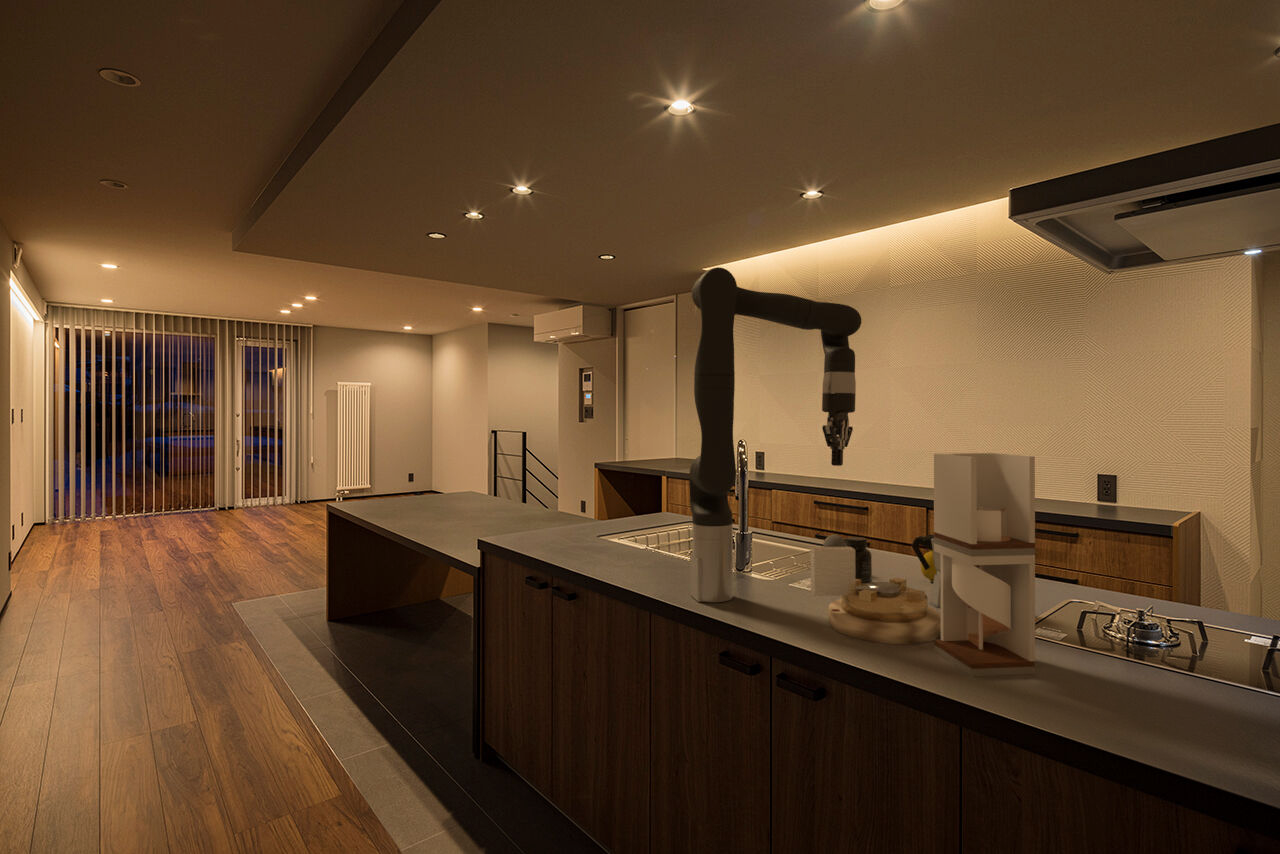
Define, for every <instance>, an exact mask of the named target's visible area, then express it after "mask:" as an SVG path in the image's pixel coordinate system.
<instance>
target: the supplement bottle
mask: <svg viewBox="0 0 1280 854" xmlns="http://www.w3.org/2000/svg"><path fill="white" fill-rule="evenodd" d="M867 541H868V539H867V538H865V537H861V536H860V537H859V536H848V537H846V539H845V542H846V547H852V548H853V549H855V579H860V580H861V584H863V583H870V582H873V569H872V567H873V563H872V557H873V556H872V552H871V551H870V550H869V549H868V548H867V547H868V542H867Z"/></svg>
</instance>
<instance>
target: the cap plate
mask: <svg viewBox="0 0 1280 854" xmlns="http://www.w3.org/2000/svg"><path fill="white" fill-rule="evenodd" d="M828 624H829V626H830V627H831V628H832V629H833V630H834V631H837V632H838V633H840V634H843V635H845V636H848V637H851V638H853V639H854V638H855V639H858V640H862V641H867V642H871V643H872V642H873V643H880V644H891V645H915V644H916V645H917V644H923V643H924V644H925V643H928V642H929V643H930V642H933V641H934V640H938V639H939V638H941V612H939V611H938V610H936V609H934V608H933V607H930V606H928V614H927V616H926V617H925V618H923V619H920V620H916V621H908V622H887V621H878V620H871V619H866V618H861V617H858V616H855V615H852V614H849V613H847V612H846V611H844V610H843V609H842V607H841V598H840V599H836V600H834V601H832V602H830V603H829V605H828Z"/></svg>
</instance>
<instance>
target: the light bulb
mask: <svg viewBox="0 0 1280 854" xmlns="http://www.w3.org/2000/svg"><path fill="white" fill-rule="evenodd" d="M822 545H823V546H822V547H847V546H846V539H844V538H843V537H842V536H841V535H838V534H831V535H828V536H827V537H826V538H825V540H823V544H822Z"/></svg>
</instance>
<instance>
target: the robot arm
mask: <svg viewBox="0 0 1280 854" xmlns="http://www.w3.org/2000/svg"><path fill="white" fill-rule="evenodd" d="M691 298H692V301H693V304H694V305H695V306H696V307H697V308H698V310H700V312H701V313H700V315H701V317H700V318H701V329H700V332H701V333H700V339H699V342H698V343H699V344H698V347H697V352H696V356H695V363H694V371H693V372H694V374H693V376H694V377H693V378H694V380H693V382H694V383H693V384H694V387H693V389H694V390H693V391H694V392H693V393H694V404H695V408H696V412H697V418H698V420H699V425H700V432H701V446H700V455H699V456H697V457H696V458H695V459H694V460H693V461H692V463H691V466H690V468H689V476H688V478H689V481H688V484H689V485H688V488H689V506H690V512H691V517H692V518H691V519H692V554H690V556H689V574H690V575H689V581H690V582H689V586H690V588H689V589H690V590H689V593H690V597H692V598H693V599H694V600H695V601H696V602H701V603H702V602H705V603H724V602H729V601H731V600H733V598H734V587H733V586H734V571H733V570H734V565H733V563H734V558H733V557H734V555H733V550H734V548H733V547H734V546H733V545H734V544H733V541H734V540H733V538H734V537H733V533H734V531H733V529H734V528H733V512H732V509H731V507H730V503H729V495H728V492H730V491H731V490H732V488H733V486H734V484H735V483H736V478H737V467H736V466H737V465H736V457H735V446H734V419H735V418H734V415H735V414H734V413H735V411H734V410H735V392H736V391H735V390H736V389H735V384H736V379H735V374H736V373H735V343H734V342H735V341H734V340H735V339H734V325H735V315H736V316H742V317H743V316H744V317H749V318H755V319H760V320H763V321H768V322H772V323H776V324H779V325H783V326H786V327H792V328H797V329H801V330H806V331H811V330H820V337H821V343H822V349H823V353H824V363H823V364H824V365H823V367H824V368H823V379H822V394H821V395H822V397H821V398H822V400H821V401H822V402H821V410H822V412H823V413H827V419H826V424H825V425H824V424H823V425H822V426H821V427H822V428H821V429H822V432H823V435H824V439H825V442H826V446H827V447H830V448H829V449H830V450H831V466H836V467H841V466H843V464H844V450H845V448H847V447H848V446H849V443H850V440H851V437H852V434H853V431H854V428H853V426H850V420H849V419H850V418H849V413H850V414H852V413H855V411H856V394H857V393H856V391H857V390H856V389H857V388H856V387H857V381H856V380H857V379H856V353H855V351H854V349H852V348H850V343H849V337H850V336H852V335H854V334H856V332H858V331H859V329H860V328H861V325H862V317H861V314H860V312H859V311H858V310H857V309H856V308H854V307H853V306H850V305H847V304H842V303H835V302H828V301H827V302H825V301H815V300H812V299H809V298H806V297H805V298H804V297H801V296H798V295H793V294H788V293H787V294H786V293H778V292H766V291H764V292H763V291H757V290H751V289H747V288H743V287H739V286H738V285H737V281H736V278H735V277H734V275H733V274H732V273H731V271H729V270H728V269H726V268H723V267H714V268H710V269H708V270H706V271H705V272H704V273H703V274H702V275H700V277H699V278H698V279H697V280H696V281H695V282H694V283H693V286H692V289H691Z"/></svg>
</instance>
